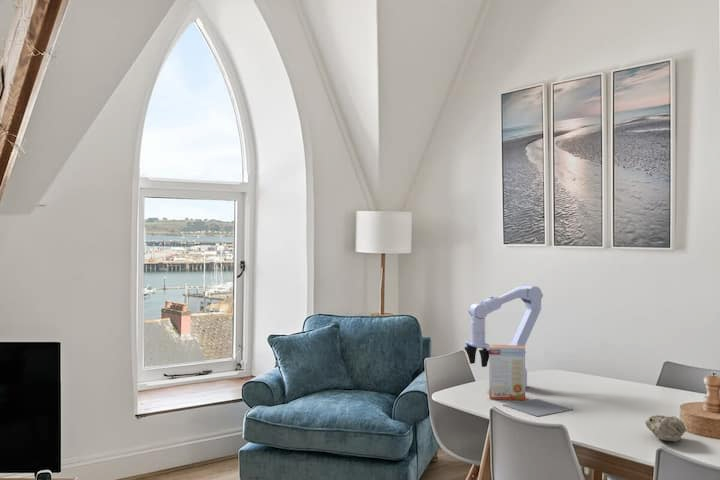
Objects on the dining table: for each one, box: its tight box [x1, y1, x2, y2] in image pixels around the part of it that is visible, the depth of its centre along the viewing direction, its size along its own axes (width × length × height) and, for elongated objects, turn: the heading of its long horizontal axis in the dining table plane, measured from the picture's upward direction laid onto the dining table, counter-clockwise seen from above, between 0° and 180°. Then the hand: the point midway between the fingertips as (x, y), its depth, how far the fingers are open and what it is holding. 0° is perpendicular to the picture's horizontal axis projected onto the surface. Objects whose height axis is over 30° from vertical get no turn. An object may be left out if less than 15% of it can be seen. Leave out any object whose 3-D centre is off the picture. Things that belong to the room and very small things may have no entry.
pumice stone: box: [645, 414, 687, 443], centre depth 212 cm, size 14×12×8 cm
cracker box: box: [488, 344, 526, 401], centre depth 266 cm, size 14×6×21 cm, turn 78°
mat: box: [502, 398, 574, 418], centre depth 252 cm, size 18×18×1 cm
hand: (478, 365), depth 280 cm, fingers open, 7 cm apart
